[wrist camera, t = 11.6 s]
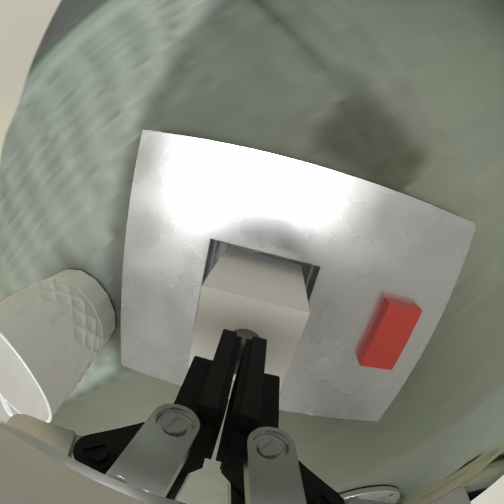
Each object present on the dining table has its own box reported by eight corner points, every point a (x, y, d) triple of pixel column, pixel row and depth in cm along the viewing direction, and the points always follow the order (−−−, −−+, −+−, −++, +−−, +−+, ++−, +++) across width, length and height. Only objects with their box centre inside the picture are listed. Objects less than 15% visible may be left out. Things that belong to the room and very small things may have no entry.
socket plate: (456, 217, 16) (483, 227, 13) (371, 401, 21) (380, 428, 17) (159, 133, 16) (136, 128, 13) (134, 347, 21) (116, 370, 18)
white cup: (88, 244, 19) (-14, 298, 9) (141, 334, 21) (73, 425, 11) (37, 281, 21) (-41, 331, 11) (82, 355, 22) (21, 424, 13)
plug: (301, 264, 17) (312, 327, 10) (280, 328, 19) (278, 407, 12) (227, 246, 17) (193, 298, 10) (213, 311, 19) (181, 383, 12)
